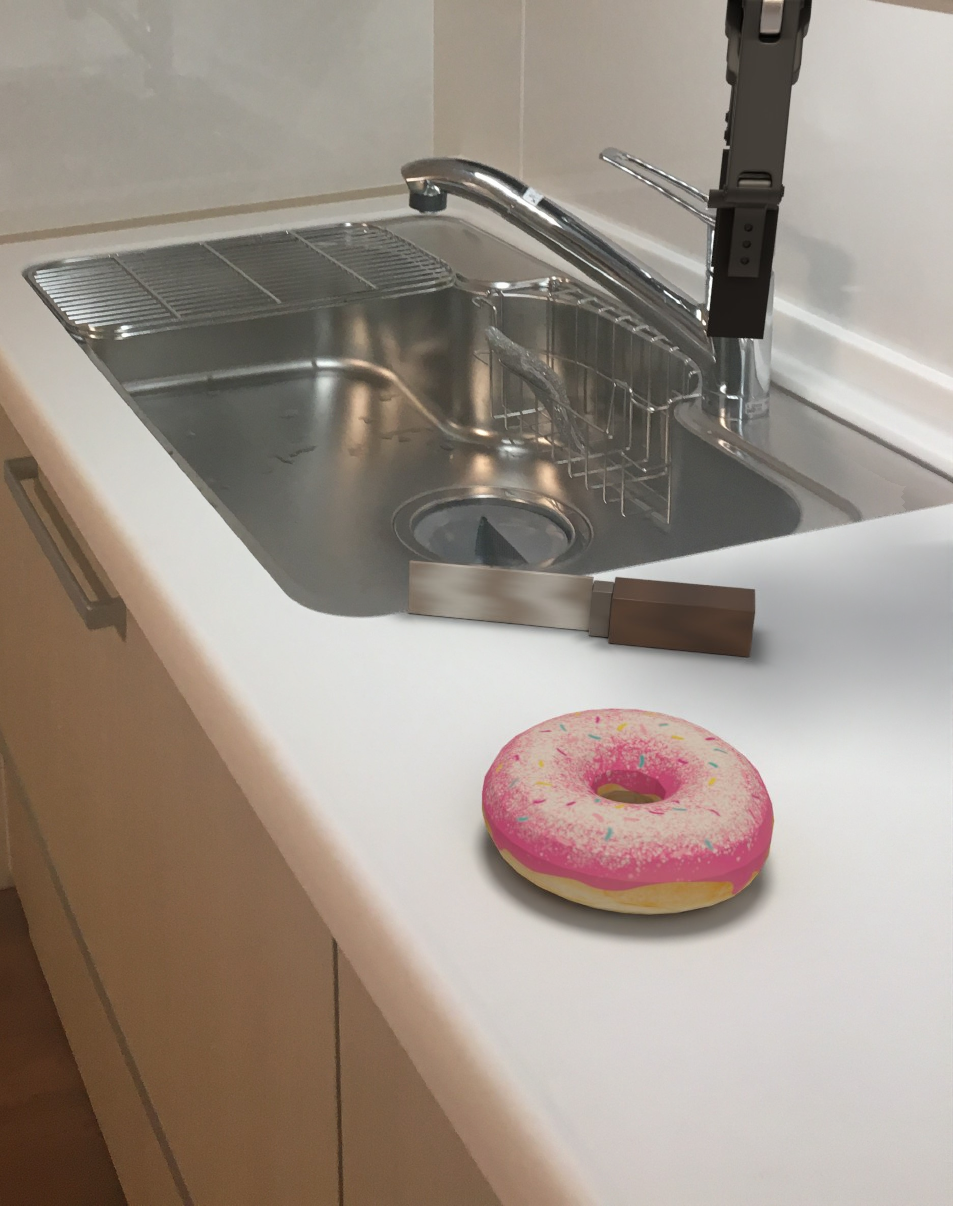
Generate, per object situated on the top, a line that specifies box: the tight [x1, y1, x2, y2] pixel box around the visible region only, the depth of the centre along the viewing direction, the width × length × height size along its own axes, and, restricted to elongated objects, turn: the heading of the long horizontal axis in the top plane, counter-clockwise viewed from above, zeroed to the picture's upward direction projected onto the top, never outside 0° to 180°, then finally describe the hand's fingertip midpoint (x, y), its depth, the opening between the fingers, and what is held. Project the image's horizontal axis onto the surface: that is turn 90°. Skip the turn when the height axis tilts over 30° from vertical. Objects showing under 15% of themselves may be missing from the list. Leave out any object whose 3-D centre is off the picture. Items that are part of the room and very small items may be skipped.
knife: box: [407, 559, 756, 658], centre depth 99 cm, size 20×3×4 cm, turn 73°
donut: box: [481, 708, 775, 915], centre depth 78 cm, size 14×13×5 cm
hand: (735, 299), depth 89 cm, fingers open, 13 cm apart
